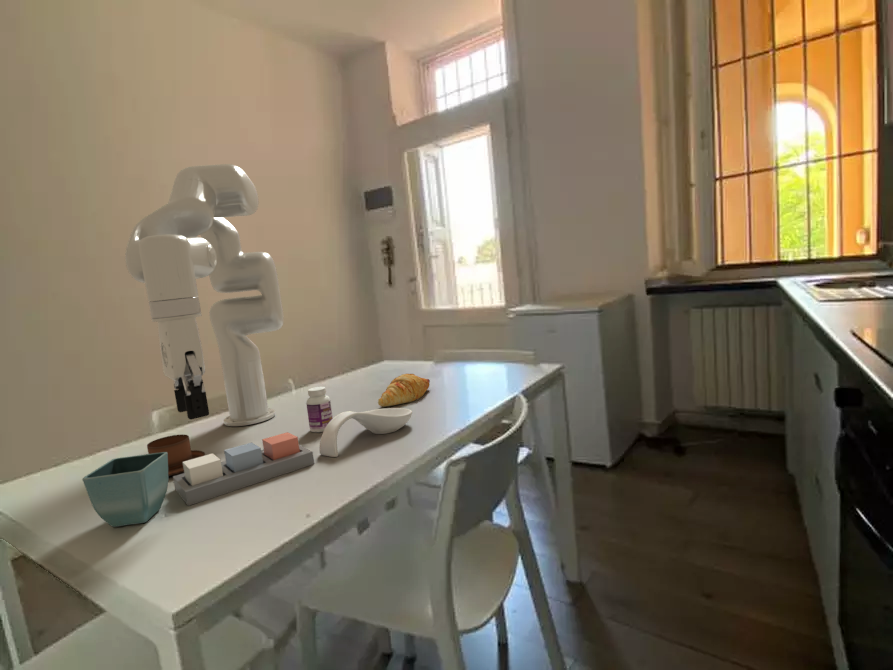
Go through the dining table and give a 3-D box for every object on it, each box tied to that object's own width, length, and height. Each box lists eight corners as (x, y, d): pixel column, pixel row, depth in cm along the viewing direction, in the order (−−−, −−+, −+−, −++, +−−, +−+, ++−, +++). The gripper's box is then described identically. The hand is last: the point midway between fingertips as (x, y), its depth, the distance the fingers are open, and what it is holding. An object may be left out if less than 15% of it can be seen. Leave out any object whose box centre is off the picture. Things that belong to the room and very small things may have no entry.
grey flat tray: (175, 489, 93) (172, 476, 93) (293, 452, 106) (291, 441, 106) (188, 505, 85) (185, 491, 85) (314, 463, 99) (312, 451, 98)
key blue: (226, 465, 96) (224, 450, 96) (254, 457, 99) (251, 442, 99) (234, 472, 92) (232, 456, 92) (263, 463, 95) (260, 447, 95)
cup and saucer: (143, 468, 107) (137, 439, 106) (207, 454, 111) (202, 426, 111) (134, 488, 96) (128, 456, 95) (205, 472, 100) (200, 441, 100)
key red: (264, 454, 100) (262, 439, 100) (289, 446, 103) (287, 432, 103) (274, 460, 96) (271, 444, 96) (299, 452, 99) (297, 437, 99)
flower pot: (123, 509, 87) (112, 457, 85) (177, 502, 87) (168, 450, 86) (91, 536, 78) (80, 478, 77) (153, 528, 78) (142, 470, 77)
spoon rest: (384, 419, 124) (380, 390, 123) (424, 423, 118) (420, 392, 117) (307, 455, 105) (302, 420, 104) (350, 462, 98) (346, 425, 97)
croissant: (390, 423, 132) (398, 397, 129) (361, 403, 136) (369, 377, 133) (437, 399, 150) (445, 375, 146) (410, 382, 154) (417, 359, 151)
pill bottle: (327, 432, 118) (322, 390, 116) (306, 433, 119) (300, 392, 118) (337, 425, 123) (332, 385, 122) (316, 425, 124) (311, 386, 123)
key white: (185, 478, 92) (182, 461, 91) (215, 469, 95) (212, 453, 94) (192, 485, 88) (189, 468, 87) (223, 476, 91) (220, 459, 90)
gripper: (141, 313, 92) (159, 411, 94) (160, 313, 78) (180, 428, 81) (187, 307, 97) (203, 401, 99) (213, 307, 83) (231, 416, 85)
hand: (193, 412), depth 90 cm, fingers open, 6 cm apart
